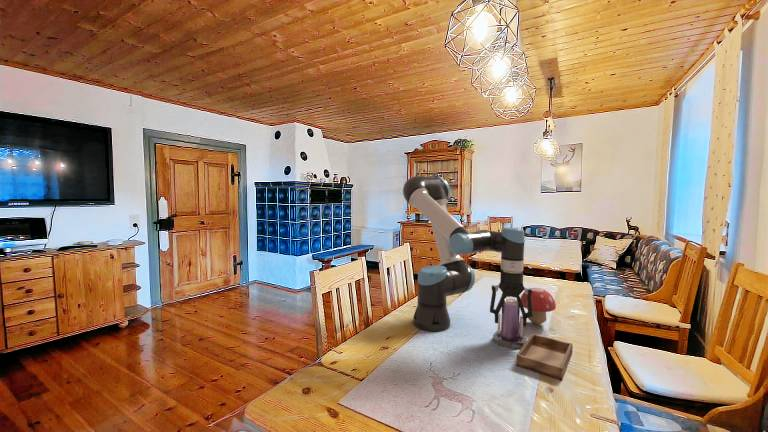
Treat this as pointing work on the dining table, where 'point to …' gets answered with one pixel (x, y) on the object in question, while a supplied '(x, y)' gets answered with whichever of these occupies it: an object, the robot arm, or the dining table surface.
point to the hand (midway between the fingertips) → (509, 333)
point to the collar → (507, 343)
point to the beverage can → (510, 320)
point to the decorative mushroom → (539, 304)
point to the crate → (545, 356)
